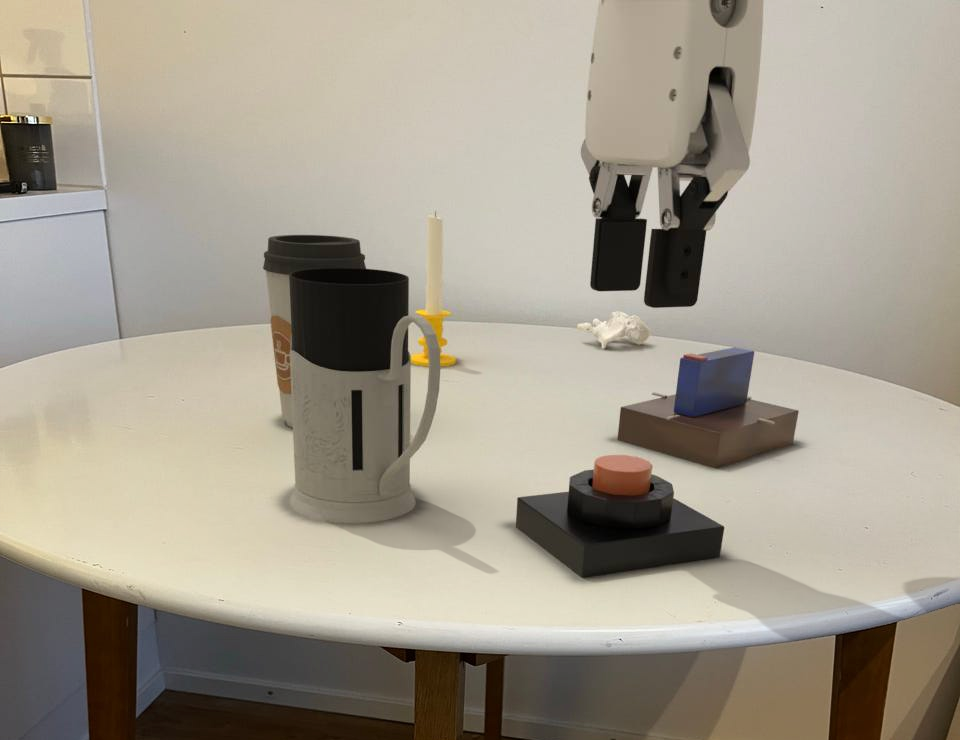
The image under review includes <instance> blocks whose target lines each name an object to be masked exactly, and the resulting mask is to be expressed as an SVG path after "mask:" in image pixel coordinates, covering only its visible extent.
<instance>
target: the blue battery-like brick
mask: <svg viewBox="0 0 960 740" xmlns="http://www.w3.org/2000/svg"><path fill="white" fill-rule="evenodd" d="M754 357H755V351H754V350H751V349H746V348H741V347H736V346H735V347H730V348H724V349H719V350H714V351H708V352H703V353H698V354H695V353H685V354H683V356H682V357H680V358H679V366H678V374H677V381H676V390H675V394H676V396H675V404H674V413H678V414H682V415H686V416H689V417H696V416H700V415H704V414H708V413H711V412H715V411H719V410H723V409H727V408H731V407H735V406H738V405H742V404H746V402H747V397H748V395H749V389H750V383H751V377H752V376H751V375H752V369H753V363H754Z"/></svg>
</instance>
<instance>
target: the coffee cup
mask: <svg viewBox="0 0 960 740" xmlns="http://www.w3.org/2000/svg"><path fill="white" fill-rule="evenodd" d="M267 241H268V242H267V250H265V251H264V252H263V258H264V261H263V267H262V269H263V270H264V271H265V277H266V285H267V294H268V303H269V313H270V321H269V322H270V329H271V338H272V347H273V356H274V365H275V372H276V374H275V375H276V381H277V387H278V391H279V399H280V400H279V401H280V409H281V417H282V419H283V420H284V421H285V424H286V425H287V426H288V427H290V428H292V429H293V418H292V395H291V372H290V337H291V333H292V331H291V307H290V284H289V274H290V273H292V272H295V271H299V270H305V269H316V268H362V269H367V267H366V263H365V262H366V261H365V260H366V255H365V254H363V253H362V250H361V249H362V248H361V241H360V240H359V239H357V238H353V237H347V236H337V235H325V234H324V235H323V234H284V235H274V236H270V237H268V238H267Z"/></svg>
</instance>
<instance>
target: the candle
mask: <svg viewBox="0 0 960 740" xmlns="http://www.w3.org/2000/svg"><path fill="white" fill-rule="evenodd" d="M427 220H428V221H427V238H426V239H427V241H426V242H427V243H426V281H425V283H426V284H425V309H419V310H416V311H415V315H418V316H421V317H423V318H425V319H426V320H427V321H428V322H429V323H430V324H431V326H432V328H433V330H434V331H435V333H436V336H437V340H438V344H439V348H440V366H441V367H440V368H442V367H449V366H453V365H455V364H456V363H457V358H456V357H455V356H454V355H451V354H446V353H442V352H443V349H442V347H445V346H447V345H448V339H446V338H444V337H443V333H444V326H443V323H444V318H445V317H448V316H451V315H452V312H451V311H449V310H443V309H442V307H443V306H442V301H443V300H442V298H443V297H442V296H443V295H442V294H443V245H444V244H443V240H444V239H443V237H444V236H443V233H444V231H443V218H442V217H438V216H437V211H436V210H435V211H434V215H432V214H431V215H430V214H429V215H428V217H427ZM417 343H418V345H420V346H422V347H423V352H420V353H414V354H410V356H411V365H415V366H421V367H429V358H428V347H427V343H426V339H425V336H424V335H423V336H422V337H420V338H418V340H417Z"/></svg>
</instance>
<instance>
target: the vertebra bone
mask: <svg viewBox="0 0 960 740" xmlns="http://www.w3.org/2000/svg"><path fill="white" fill-rule="evenodd" d="M610 315H611V318H610V319H608V321H607V320H604V321H601V320H600V319H598V318H597V317H595V318H594V319H593V320H592V324H593V325H594V326H592V324H591V323H590V322H583V323H582V322H581V323H578V324H577V326H576V327H577V330H578V331H579V332H580V331H581V332H582V331H583V332H585V333H586V334H591V335H592V336H594V337H595V338H597V342H598V343H600V344H601V349H603V350H605V349H606V347H607V345H608V343H612V342H614V340H616V339H618V338H624V337H627V338H628V340H634V342H635V344H636V345H642V344H643V343H645V342H646V341H647V340H648V339H649V338H650V337H651V334H652V332H651V329H650V328H649V327H648V326H647V325H646V323H645V322H644V321H643V320H642V319H641V318H640V317H639V316H637V315H631V316H629V315H628V313H625V312H623V311H620V310H616V311H613V312H611V314H610Z"/></svg>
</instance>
